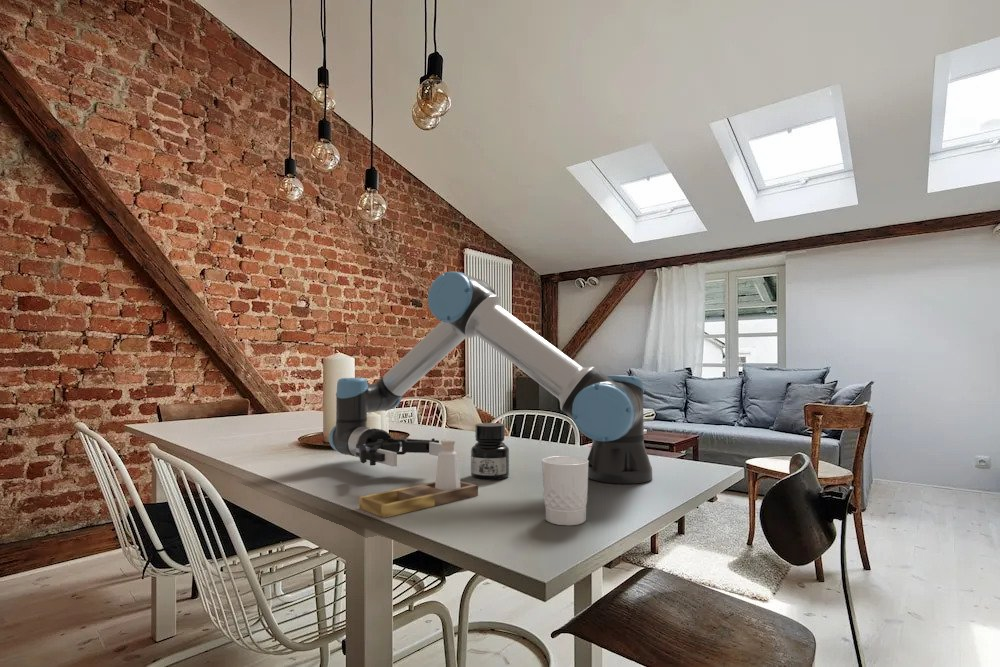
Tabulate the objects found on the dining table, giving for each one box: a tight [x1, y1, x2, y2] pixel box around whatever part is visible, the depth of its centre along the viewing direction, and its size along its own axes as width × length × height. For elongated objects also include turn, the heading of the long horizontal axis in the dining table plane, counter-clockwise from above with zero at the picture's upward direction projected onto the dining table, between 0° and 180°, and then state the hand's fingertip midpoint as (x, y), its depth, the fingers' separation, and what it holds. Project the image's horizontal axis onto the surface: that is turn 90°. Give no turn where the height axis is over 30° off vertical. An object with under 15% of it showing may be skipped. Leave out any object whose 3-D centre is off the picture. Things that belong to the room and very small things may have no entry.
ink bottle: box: [470, 422, 510, 481], centre depth 123 cm, size 10×9×12 cm
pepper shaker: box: [435, 438, 461, 491], centre depth 106 cm, size 5×5×11 cm
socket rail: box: [358, 480, 479, 519], centre depth 101 cm, size 22×8×2 cm, turn 134°
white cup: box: [541, 455, 589, 526], centre depth 90 cm, size 8×8×10 cm
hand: (423, 455), depth 112 cm, fingers open, 13 cm apart
